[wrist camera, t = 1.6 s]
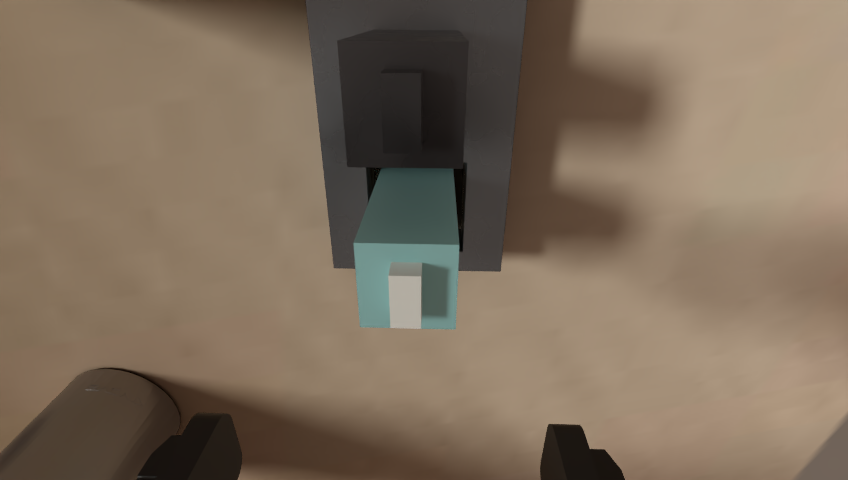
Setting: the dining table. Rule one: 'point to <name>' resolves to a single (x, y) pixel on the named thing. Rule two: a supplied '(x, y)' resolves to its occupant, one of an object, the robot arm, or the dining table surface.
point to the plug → (409, 251)
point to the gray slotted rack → (418, 107)
